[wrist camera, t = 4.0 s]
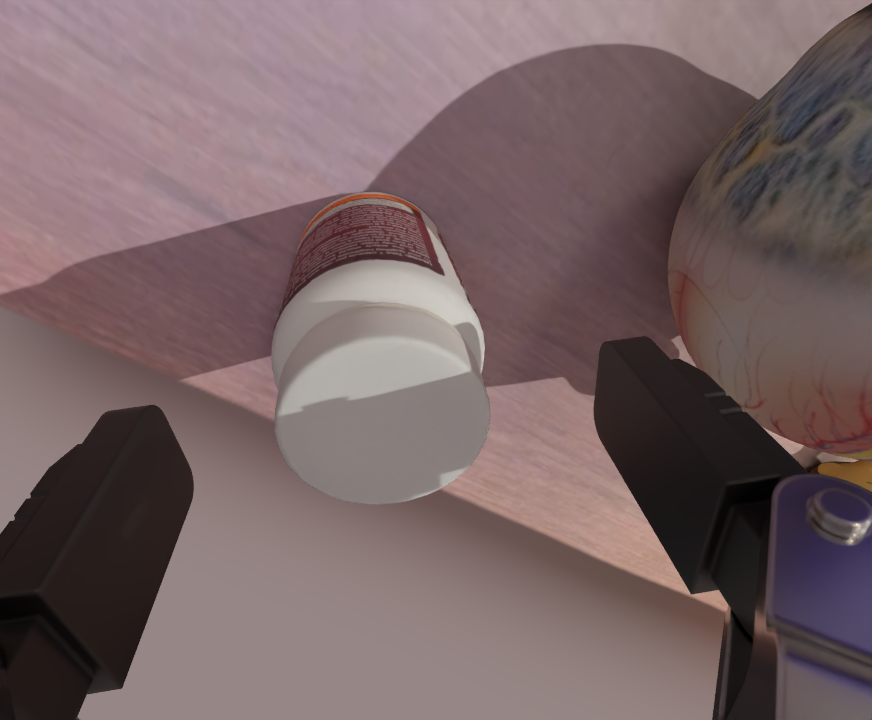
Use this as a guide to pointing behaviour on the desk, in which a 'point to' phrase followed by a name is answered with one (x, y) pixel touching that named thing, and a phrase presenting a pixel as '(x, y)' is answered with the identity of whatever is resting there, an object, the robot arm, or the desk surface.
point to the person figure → (848, 472)
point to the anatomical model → (789, 251)
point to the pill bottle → (377, 356)
